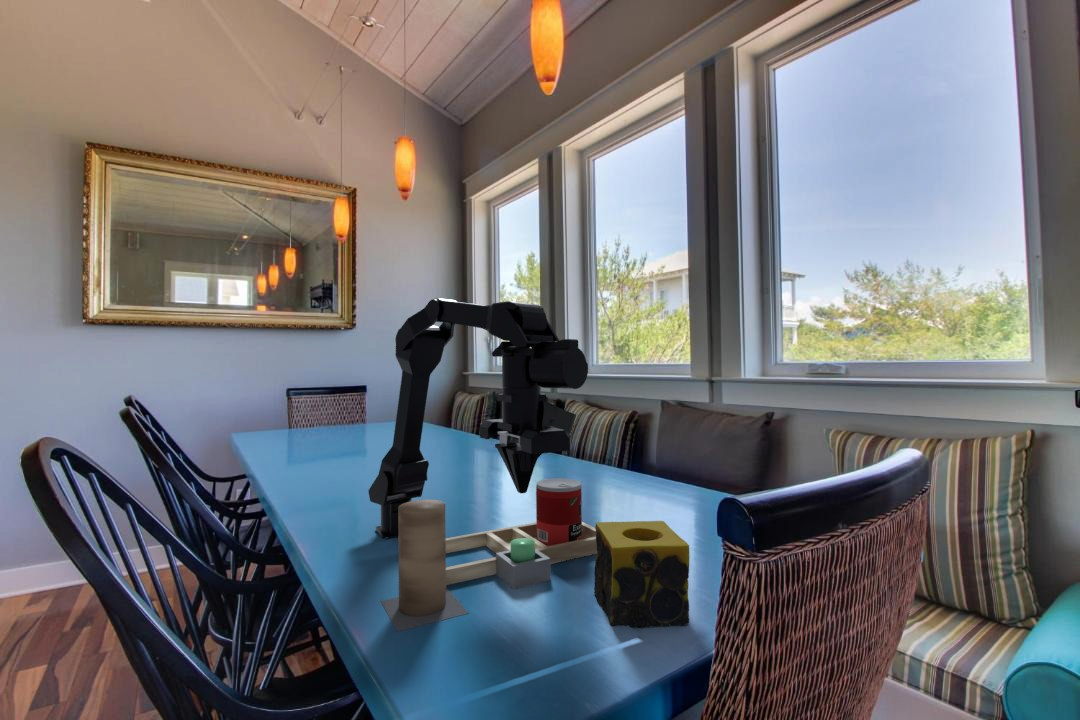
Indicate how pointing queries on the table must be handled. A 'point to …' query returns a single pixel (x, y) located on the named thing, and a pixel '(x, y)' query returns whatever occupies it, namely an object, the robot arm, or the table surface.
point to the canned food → (558, 511)
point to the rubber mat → (407, 622)
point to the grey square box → (523, 569)
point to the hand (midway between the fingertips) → (522, 492)
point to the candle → (641, 574)
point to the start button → (522, 550)
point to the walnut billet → (422, 557)
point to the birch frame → (502, 542)
